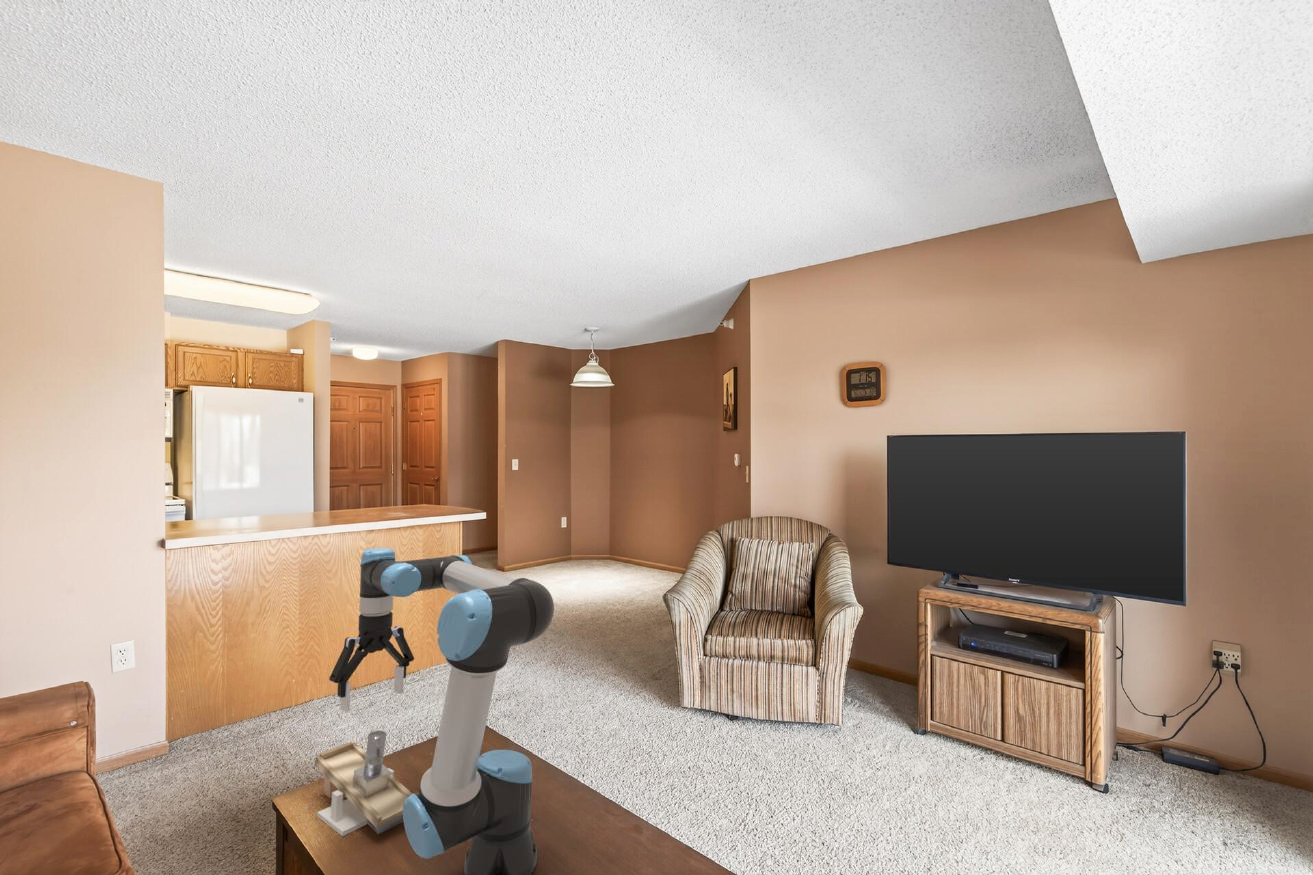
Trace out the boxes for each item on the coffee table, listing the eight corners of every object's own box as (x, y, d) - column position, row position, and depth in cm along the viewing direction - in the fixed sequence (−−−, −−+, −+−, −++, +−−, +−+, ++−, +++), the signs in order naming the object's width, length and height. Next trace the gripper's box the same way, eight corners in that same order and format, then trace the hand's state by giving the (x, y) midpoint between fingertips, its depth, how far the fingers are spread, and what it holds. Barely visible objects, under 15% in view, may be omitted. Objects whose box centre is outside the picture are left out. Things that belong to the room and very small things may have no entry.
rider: (388, 787, 146) (395, 736, 145) (364, 798, 141) (371, 745, 140) (376, 775, 149) (382, 725, 148) (352, 785, 144) (358, 734, 144)
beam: (416, 816, 142) (419, 795, 142) (373, 838, 134) (376, 816, 133) (353, 758, 160) (356, 739, 159) (312, 774, 151) (314, 755, 151)
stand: (406, 804, 149) (407, 776, 150) (342, 836, 136) (343, 805, 137) (363, 776, 161) (365, 750, 162) (300, 803, 148) (302, 774, 149)
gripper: (412, 601, 158) (410, 682, 157) (315, 620, 137) (311, 713, 136) (430, 605, 154) (427, 688, 153) (332, 625, 133) (328, 722, 132)
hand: (372, 700), depth 145 cm, fingers open, 13 cm apart
